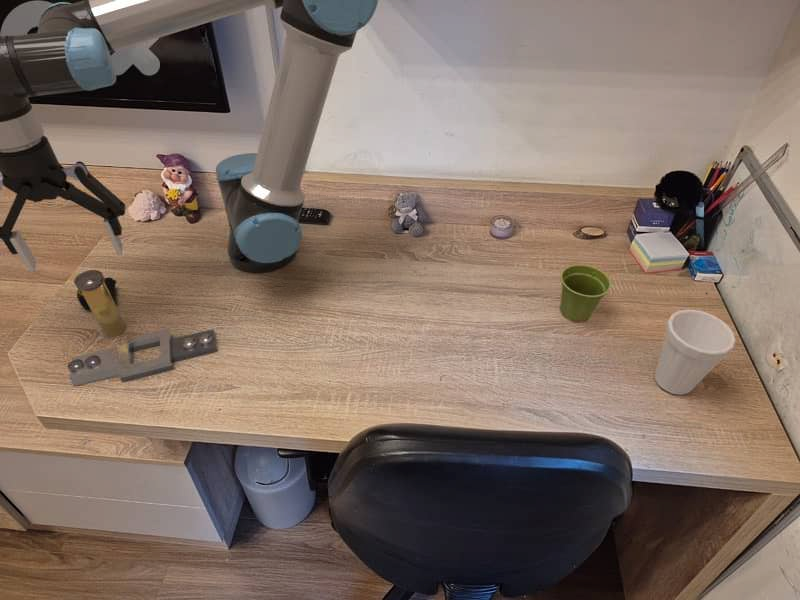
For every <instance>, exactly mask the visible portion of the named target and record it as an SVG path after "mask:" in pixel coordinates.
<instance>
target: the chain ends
mask: <svg viewBox="0 0 800 600" xmlns="http://www.w3.org/2000/svg"><path fill="white" fill-rule="evenodd" d="M172 335H173V334H172V333H171V331H170V329H169V328H164V329H161V330H157V331H156V330H155V331H152V332H148V333H143V334H139V335H134V336H130V337H126V338H122V339H119V344H118V346H115V347H112V348H107V349H103V350H98V351H94V352H90V353H85V354H82V355H77V356H72V357H71V361H70V362H69V363H68V364H67V368H68V370H69V371H70V372H69V380H70V381H71V383H72V385H73V386H74V387H77V386H78V387H79V386H80V385H85V384H90V383H93V382H98V381H102V380H106V379H110V378H114V377H119V378H120V380H121V382H122V383H124V382H128V381H133V380H136V379H140V378H145V377H148V376H153V375H157V374H161V373H165V372H168V371H172V370H175V366H174V365H175V364H174V363H175V362H180V361H183V360H189V359H192V358H196V357H200V356H204V355H208V354H212V353H216V352H218V344H217V338H216V332H215V329H207V330H204V331H200V332H195V333H190V334H187V335H184V336H179V337H174V338H173V336H172ZM155 347H160V348H159V350H160V352H159V355H160V357H156V358H151V359H147V360H143V361H138V362H135V363H133V358H134V352H137V351H138V352H139V351H142V350H145V349H151V348H155Z"/></svg>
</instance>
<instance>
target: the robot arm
mask: <svg viewBox="0 0 800 600" xmlns="http://www.w3.org/2000/svg"><path fill="white" fill-rule="evenodd" d="M378 3H379V0H81V1H77V2H74V3H70V2H66V1H62V2H60V1H59V2H55V3H53V4H51V5H49V6H48V7H47V8H46V9H45V10H44V11H43V12H42V13H41V15H40V17H39V22H38V28H37V31H36V32H35V33H29V34H27V33H26V34H20V35H0V174H1V176H0V192H1V191H2V188H3V187H5V188H6V189H8V190H10V191H11V192H13V193H14V194H16V196H15V198H14V200H13V202H12V203H11V204H12V205H11V206H10V209H9V211H8V214H7V215H6V217H5V220H4V222H3V224H2V226H1V225H0V239H1V240H2V241H3V243H4V245H5V246H6V247H7V249H8V250H9V253H11V254H12V255H13V256H14V255H18V256H19V257H20V259H21V261H22V262H23V264H24V266H25V268H26V269H27V270H28V272H29V273H31V272H35V270H36V266H37V259H36V258H35V256H34V254H33V252H32V251H31V250H30V247H29V246H28V245H27V242H26V241H25V239H24V237H23V236H22V234H21V233H20V231H19V229H15V230H13V229H14V227H15V225H16V223H17V220H18V219H19V216H20V214H21V212H22V209H23V208H24V206H25V204H26V201H27V200H28V201H30V202H33V203H38V202H39V203H40V202H43V201H45V200H46V201H47V200H48V201H51V200H56V199H57V198H58V197H59V198H62V199H63V200H65V201H71V202H73V203H74V204H77V205H78V206H80V207H82V208H84V209H86V210H87V211H89V212H91V213H94V214H95V215H97V216H99V217H101V218H103V226H104V228H105V231H106V232H107V235H108V237H109V239H110V242H111V244H112V246H113V248H114V250H115V252H116V255H117V256H119V255H123V249H124V247H123V246H124V245H123V243H122V241H121V238H120V236H122V232H123V228H122V224H121V222H120V220H119V217H121V216H122V217H123V216H125V215H126V204H125V203H124V202H123V201H122V200H121V199H120V198H119V197H118V196H117V195H115V194H114V193H113V192H112V191H111V190H109V189H108V188H107V187H106V186H105V185H104V184H103V183H102V182H100V181H99V180H98V179H97V178H96V177H95V176H93V175H92V173H90V171H89V170H88V168H87V166H86V165H85V163H84V162H83V161H80V160H78V161H76V162H75V164H74V165H71V166H66V167H64V166H63V165H61V164H60V162H59V160H58V158H57V156H56V154H55V152H54V148H53V147H52V145H51V143H50V140H49V139H48V137H47V136H46V135H44V134H45V133H44V132H45V131H44V129H43V127H42V125H41V122H40V120H39V118H38V117H37V116H38V115H37V114H36V111H35V110H34V108H33V105H32V104H31V101H30V99H29V98H30V97H39V96H46V95H55V94H65V93H73V92H82V91H94V90H97V89H102V88H106V87H110V86H113V85H114V84H115V83H116V81H117V74H116V70H115V66H114V63H113V59H112V56H111V54H113V53H114V52H115V53H116V52H118V51H120V50H124V49H127V48H131V47H134V46H136V45H140V44H143V43H146V42H150V41H153V40H157V39H159V38H163V37H166V36H169V35H172V34H175V33H178V32H181V31H182V32H183V31H184V30H189V29H191V28H195V27H198V26H200V25H203V24H208V23H211V22H215V21H217V20H220V19H225V18H227V17H229V16H233V15H237V14H240V13H242V12H245V11H249V10H253V9H255V8H258V7H262V6H266V7H268V8H269V9H271V10H276V9H279V8H281V12H280V15H279V22H280V23H281V25H282V27H283V29H284V32H285V38H284V39H285V40H284V43H283V47H282V51H281V56H280V60H279V62H278V63H279V64H278V66H277V67H278V68H277V72H276V76H275V79H274V80H275V81H274V84H273V87H272V91H271V92H272V93H271V95H270V99H269V104H268V108H267V113H266V116H265V120H264V124H263V128H262V133H261V137H260V141H259V145H258V148H257V152H248V153H246V152H245V153H240V154H235V155H231V156H229V157H226V158H225V159H222V160H221V161H220V162H219V163H218V164H217V165H216V167H215V175H216V181H218V186H219V190H220V194H221V199H222V202H223V207H224V209H225V213H226V217H227V222H228V225H229V234H228V243H227V253H228V258H229V262H230V263H231V264H232V266H234V268H236V269H238V270H240V271H241V272H244V273H245V272H246V273H251V274H263V273H264V274H265V273H269V272H274V271H277V270H278V269H281V268H283V267H285V266H286V265H288V264H289V263H290V262H291V261H293V260H294V258H295V257H296V254H297V251H298V249H299V247H300V245H301V243H302V238H303V232H302V226H301V225H300V223H299V219H300V216H301V213H302V208H303V206H304V203H305V200H306V199H305V198H306V195H305V193H304V191H303V190H302V188H301V183H302V181H303V177H304V173H305V170H306V166H307V164H308V160H309V156H310V153H311V150H312V147H313V143H314V141H315V137H316V134H317V130H318V127H319V123H320V119H321V116H322V113H323V110H324V108H325V103H326V100H327V96H328V93H329V90H330V86H331V84H332V80H333V77H334V73H335V72H336V71H335V70H336V67H337V63H338V61H339V57H340V55H342V54H343V53H346V52H347V51H350V50H351V49H353V48H352V47H353V44H354V42H355V39H356V36H357V33H358V31H359V30H361V29H362V28H364V27H365V26H366V25H367V24H368V23H369V22H370V20H371V19H372V18H373V16H374V14H375V12H376V9H377V7H378ZM68 177H72V178H73V180H75V181H76V182H77V181H79V182H80V184H82V185H83V186H84V188H86V190H88V191H89V192H90V193H91V194H93V195H94V196H95V197H94V196H92V195H90V194H89V193H86V192H85V191H83V190H82V189H79V188H78V187H76V186H75V185H74V184H73V183H72V182H69V181H68V180H67V178H68Z"/></svg>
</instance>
